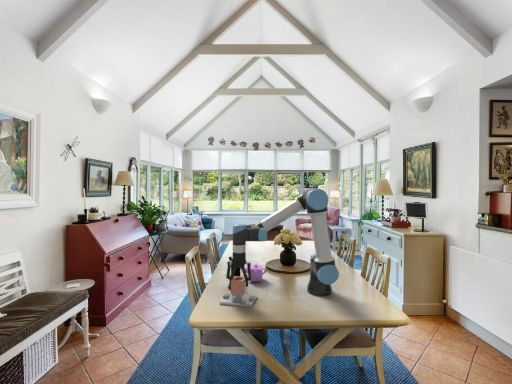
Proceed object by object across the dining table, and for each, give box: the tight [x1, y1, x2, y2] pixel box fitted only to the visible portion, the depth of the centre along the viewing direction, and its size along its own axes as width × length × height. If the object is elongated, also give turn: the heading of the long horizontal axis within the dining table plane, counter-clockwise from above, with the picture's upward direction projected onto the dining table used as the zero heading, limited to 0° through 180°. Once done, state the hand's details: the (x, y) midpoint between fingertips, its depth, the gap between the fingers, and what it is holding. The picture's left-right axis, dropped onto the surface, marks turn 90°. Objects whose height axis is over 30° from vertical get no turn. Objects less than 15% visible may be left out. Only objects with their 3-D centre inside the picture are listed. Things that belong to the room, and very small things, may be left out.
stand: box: [219, 291, 258, 308], centre depth 160 cm, size 18×14×10 cm
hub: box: [230, 275, 245, 295], centre depth 160 cm, size 7×7×8 cm
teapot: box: [245, 262, 268, 283], centre depth 195 cm, size 15×13×11 cm
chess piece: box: [227, 256, 241, 292], centre depth 178 cm, size 8×8×20 cm
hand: (238, 291), depth 160 cm, fingers closed on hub, 7 cm apart
